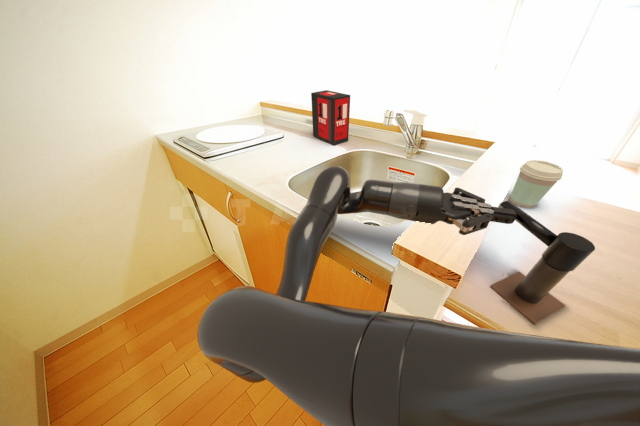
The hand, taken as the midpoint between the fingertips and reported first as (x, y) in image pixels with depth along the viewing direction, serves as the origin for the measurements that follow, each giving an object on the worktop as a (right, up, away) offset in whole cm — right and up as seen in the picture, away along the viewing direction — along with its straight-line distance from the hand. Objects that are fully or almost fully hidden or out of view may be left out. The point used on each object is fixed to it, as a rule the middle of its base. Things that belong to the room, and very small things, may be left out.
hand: (513, 217), depth 41 cm
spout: (+2, -3, -1) cm, 4 cm away
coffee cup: (+23, +3, +25) cm, 34 cm away
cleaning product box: (-30, +38, +72) cm, 86 cm away
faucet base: (+3, -15, +1) cm, 16 cm away
